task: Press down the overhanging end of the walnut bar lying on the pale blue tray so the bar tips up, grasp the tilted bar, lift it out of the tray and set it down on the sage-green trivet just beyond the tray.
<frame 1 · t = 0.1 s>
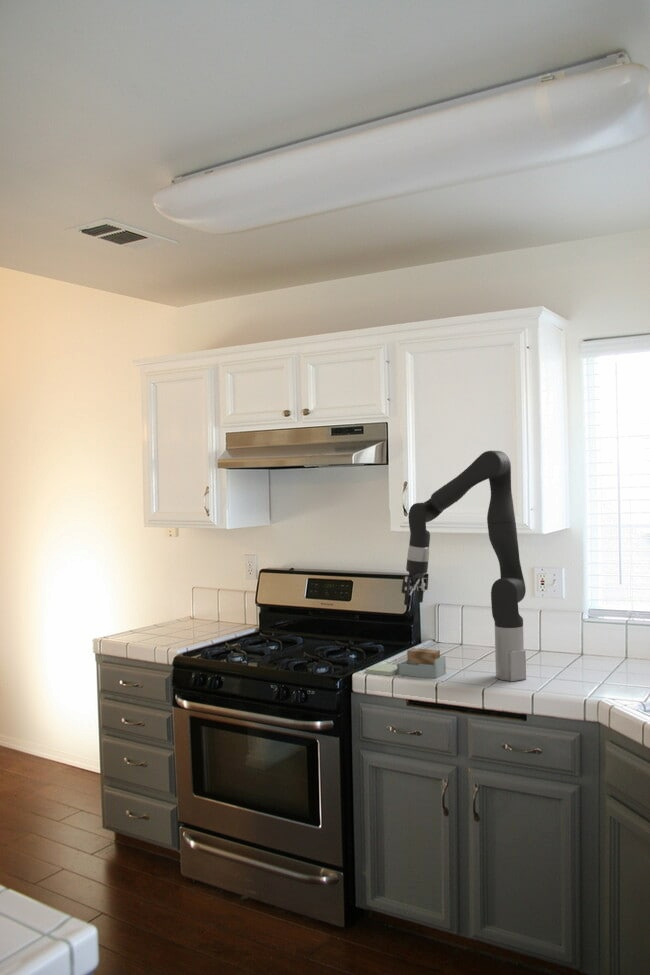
hand: (413, 603, 297), 22 cm above the worktop, tool pointing down, fingers open, 8 cm apart
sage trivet: (384, 671, 290), on the worktop
walnut bar: (423, 662, 284), point 4 cm above the worktop, touching pale blue tray
pale blue tray: (422, 674, 285), on the worktop
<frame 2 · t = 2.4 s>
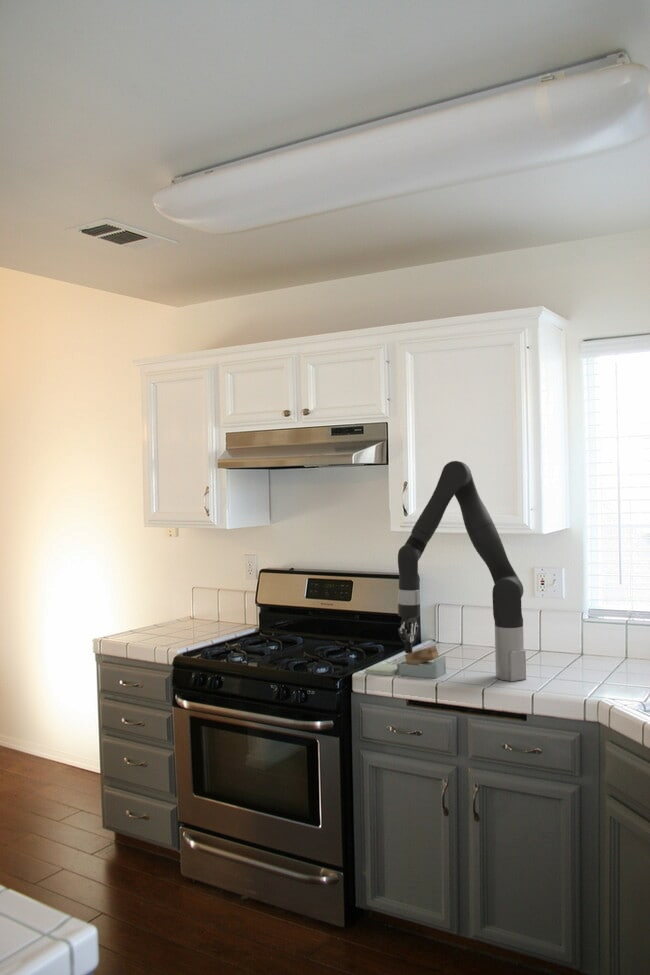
hand: (408, 652, 287), 7 cm above the worktop, tool pointing down, fingers closed
walnut bar: (423, 661, 284), point 4 cm above the worktop, tilted 19°, touching pale blue tray, gripper
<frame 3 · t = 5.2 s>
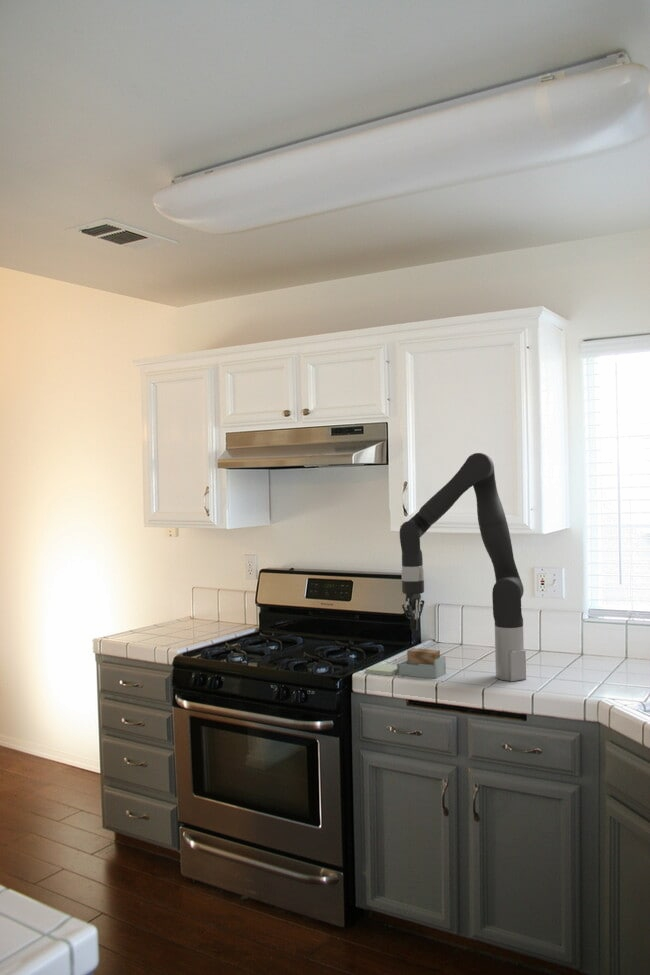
hand: (414, 629, 286), 15 cm above the worktop, tool pointing down, fingers closed
walnut bar: (423, 662, 284), point 4 cm above the worktop, touching pale blue tray
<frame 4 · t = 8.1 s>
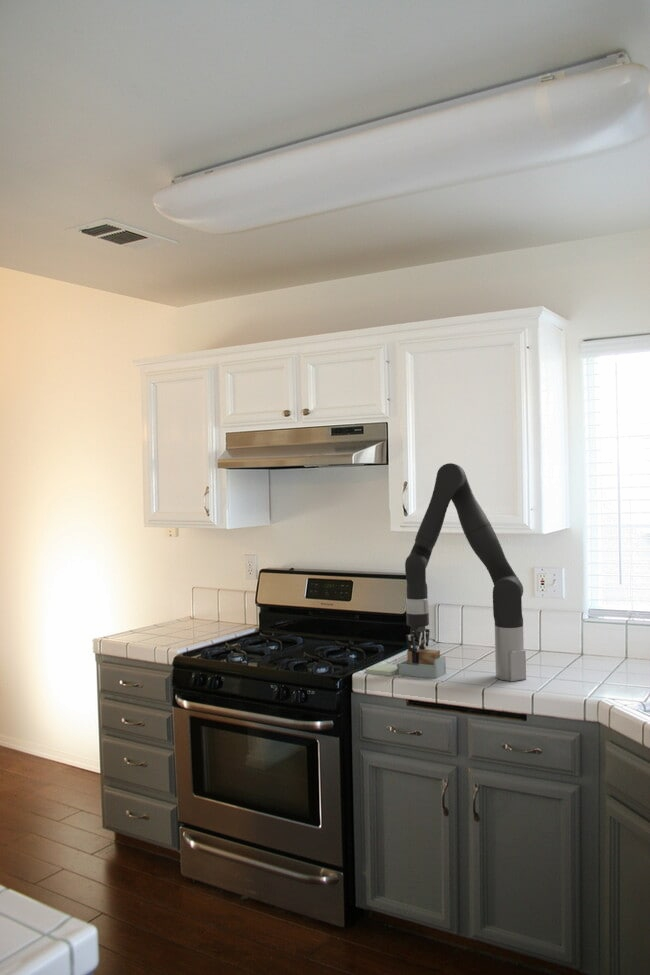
hand: (418, 661, 285), 4 cm above the worktop, tool pointing down, fingers closed on walnut bar, 4 cm apart
walnut bar: (423, 662, 284), point 4 cm above the worktop, touching pale blue tray, gripper
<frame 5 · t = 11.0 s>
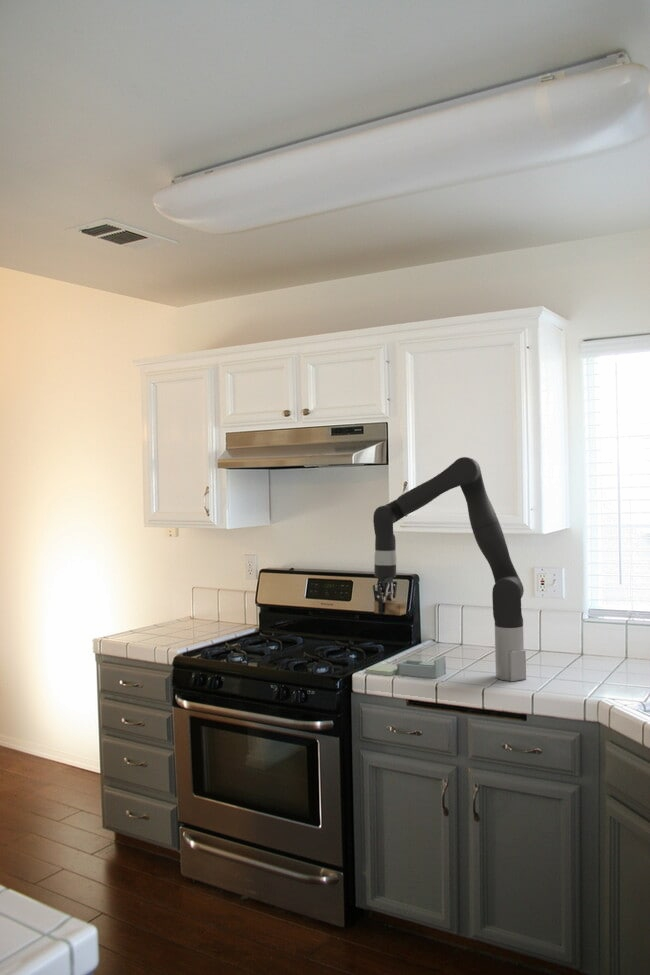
hand: (385, 612, 290), 20 cm above the worktop, tool pointing down, fingers closed on walnut bar, 4 cm apart
walnut bar: (390, 613, 289), point 20 cm above the worktop, touching gripper
when the fingers open (5 cm above the worktop, at t = 14.2 s): walnut bar drops 3 cm, resting on pale blue tray, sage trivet.
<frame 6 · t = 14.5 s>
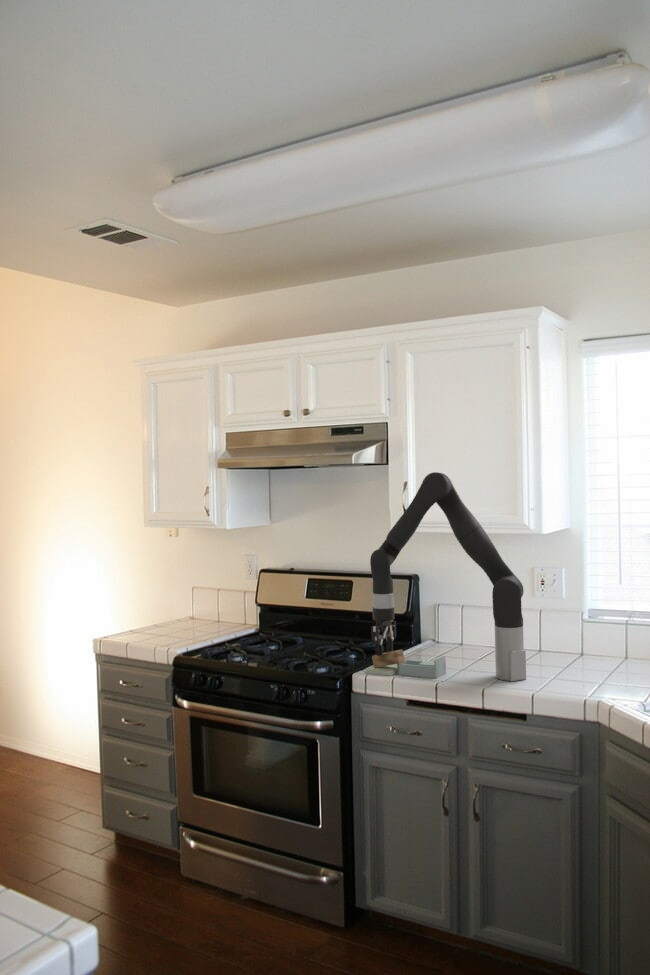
hand: (384, 653, 290), 6 cm above the worktop, tool pointing down, fingers open, 7 cm apart
walnut bar: (389, 664, 289), point 2 cm above the worktop, tilted 14°, touching pale blue tray, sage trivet
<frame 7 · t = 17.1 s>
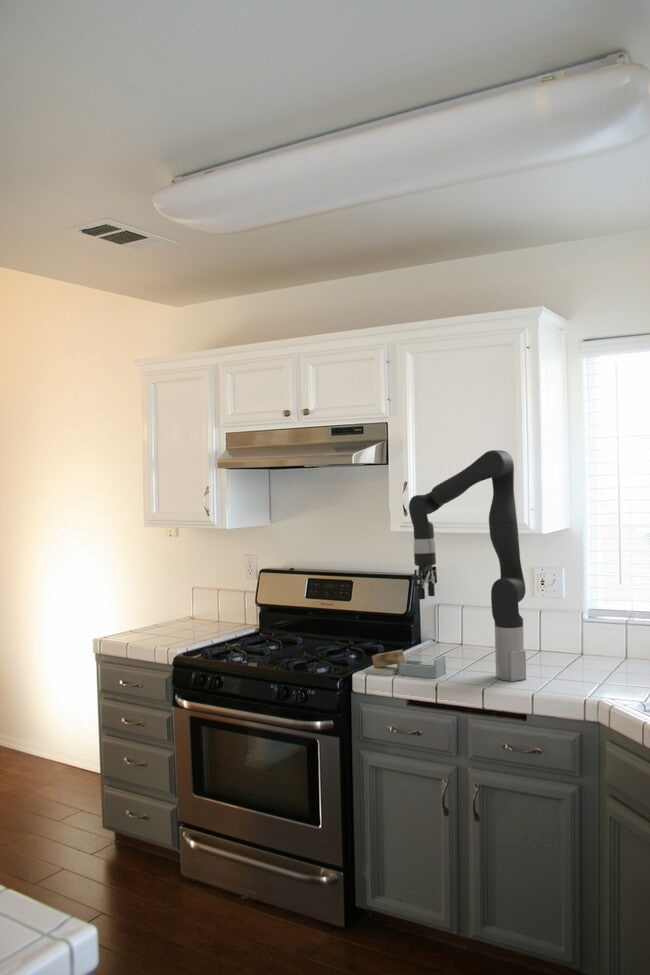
hand: (426, 597, 295), 24 cm above the worktop, tool pointing down, fingers open, 8 cm apart
nothing on the worktop moved.
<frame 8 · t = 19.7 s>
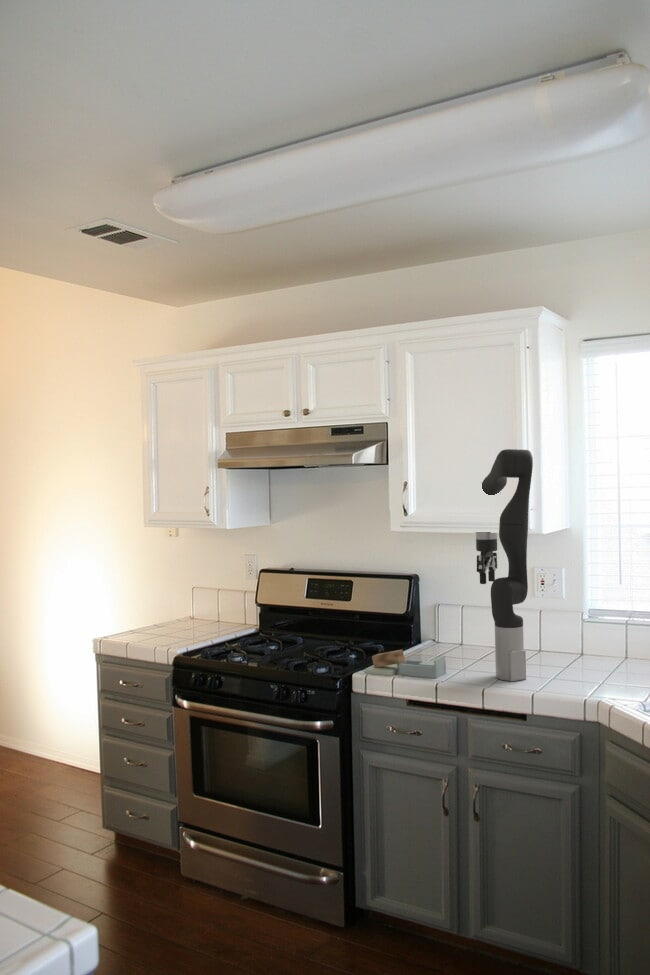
hand: (487, 582, 303), 28 cm above the worktop, tool pointing down, fingers open, 8 cm apart
nothing on the worktop moved.
at the end: walnut bar 1.9 cm from the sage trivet (horizontally); walnut bar point 2.5 cm above the worktop; the gripper is holding nothing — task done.
